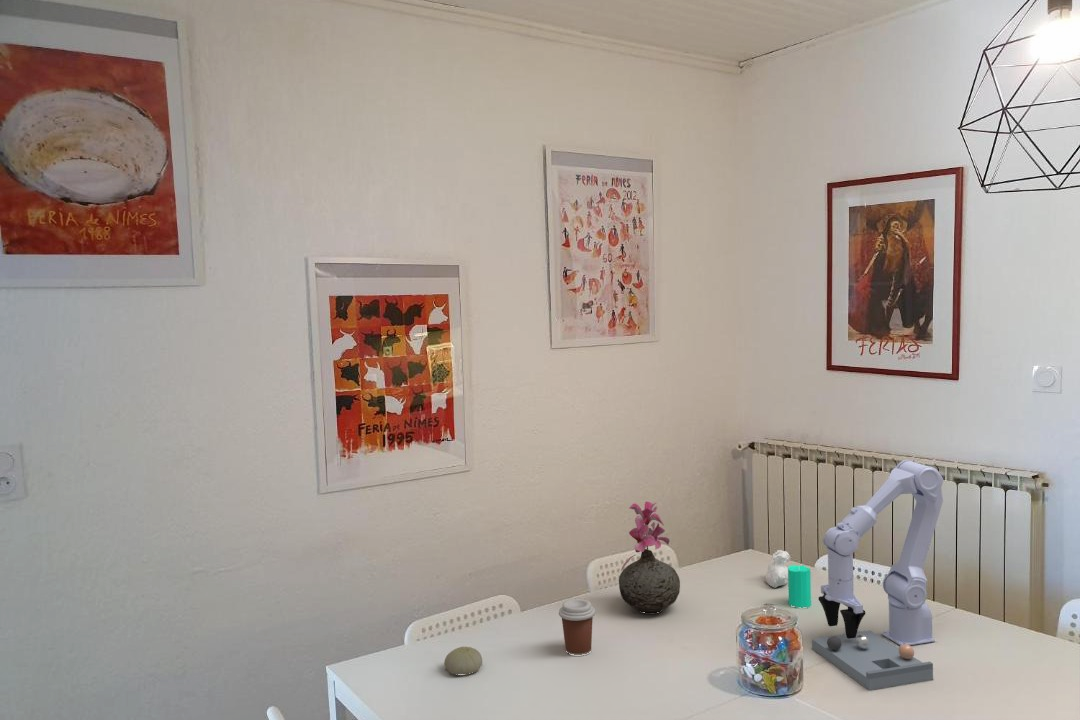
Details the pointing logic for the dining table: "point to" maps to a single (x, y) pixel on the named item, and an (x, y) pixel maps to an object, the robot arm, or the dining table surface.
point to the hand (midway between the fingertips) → (841, 631)
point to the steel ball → (862, 642)
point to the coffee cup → (577, 625)
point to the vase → (648, 568)
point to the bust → (778, 569)
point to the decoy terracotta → (906, 651)
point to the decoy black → (834, 643)
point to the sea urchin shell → (463, 660)
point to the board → (874, 662)
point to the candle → (799, 586)
